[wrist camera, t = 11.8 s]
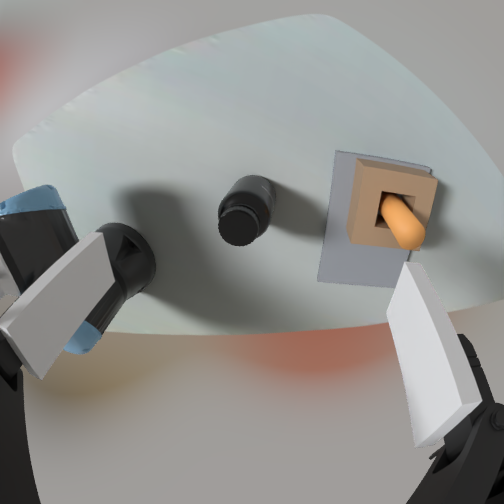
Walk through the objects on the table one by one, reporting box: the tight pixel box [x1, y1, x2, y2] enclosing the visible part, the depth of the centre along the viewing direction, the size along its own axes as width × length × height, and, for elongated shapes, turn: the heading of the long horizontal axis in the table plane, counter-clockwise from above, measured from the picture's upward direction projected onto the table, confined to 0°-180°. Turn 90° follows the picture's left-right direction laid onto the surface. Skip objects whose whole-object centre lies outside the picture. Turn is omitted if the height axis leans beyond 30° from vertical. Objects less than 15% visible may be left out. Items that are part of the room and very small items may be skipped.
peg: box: [378, 191, 425, 250], centre depth 34 cm, size 4×4×12 cm
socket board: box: [317, 151, 438, 288], centre depth 40 cm, size 15×22×6 cm
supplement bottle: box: [218, 175, 276, 246], centre depth 38 cm, size 7×7×12 cm
